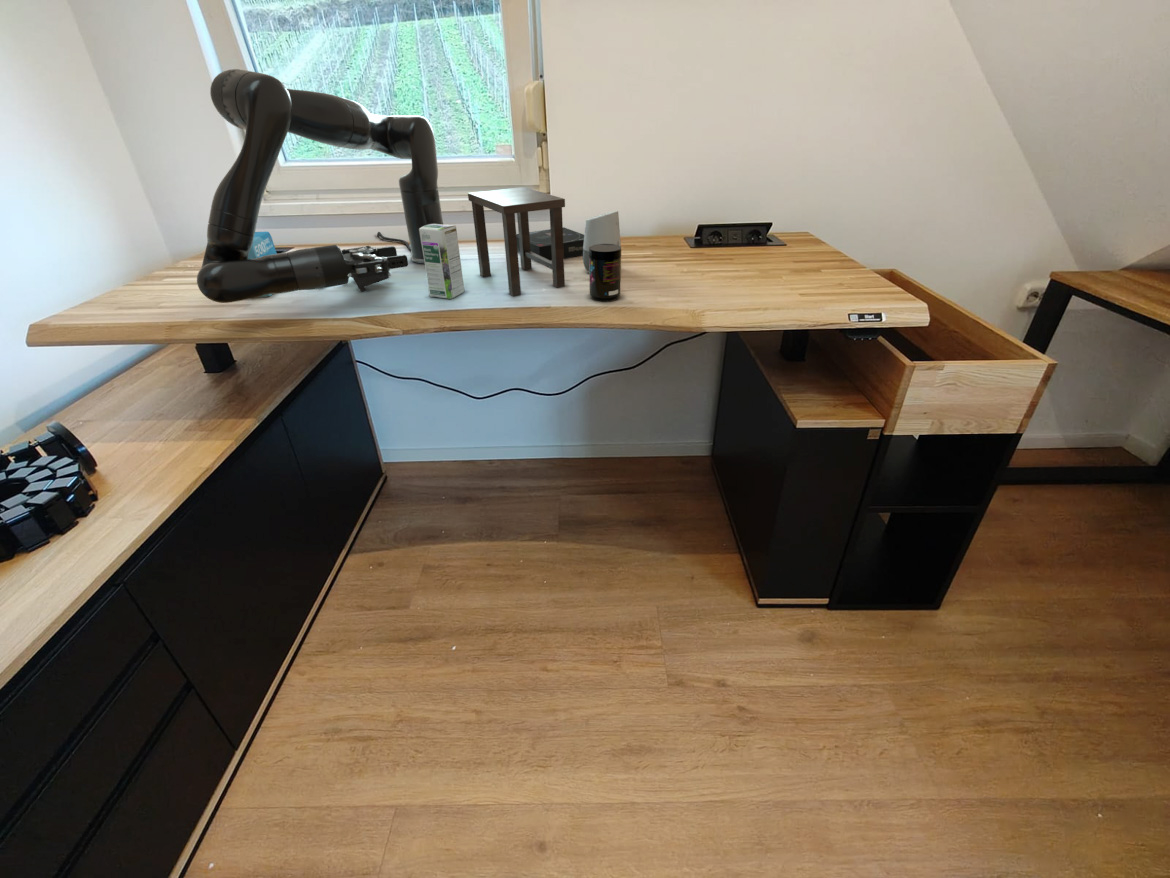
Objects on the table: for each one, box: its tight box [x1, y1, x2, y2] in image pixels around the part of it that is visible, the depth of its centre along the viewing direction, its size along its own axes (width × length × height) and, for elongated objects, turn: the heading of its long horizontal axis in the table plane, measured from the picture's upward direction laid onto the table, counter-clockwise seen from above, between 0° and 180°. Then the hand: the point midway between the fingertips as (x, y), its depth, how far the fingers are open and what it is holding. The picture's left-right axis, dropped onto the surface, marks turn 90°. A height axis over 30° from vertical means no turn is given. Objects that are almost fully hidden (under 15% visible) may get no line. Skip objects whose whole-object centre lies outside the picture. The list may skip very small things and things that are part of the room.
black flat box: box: [516, 226, 585, 261], centre depth 152 cm, size 16×17×4 cm
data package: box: [248, 231, 278, 298], centre depth 124 cm, size 12×4×12 cm, turn 8°
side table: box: [467, 186, 566, 297], centre depth 126 cm, size 20×14×19 cm
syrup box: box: [419, 224, 465, 300], centre depth 119 cm, size 6×6×14 cm
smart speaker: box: [582, 210, 622, 273], centre depth 133 cm, size 10×9×14 cm
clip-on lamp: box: [348, 264, 392, 293], centre depth 129 cm, size 12×6×18 cm
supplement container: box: [588, 244, 622, 302], centre depth 117 cm, size 7×7×10 cm
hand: (401, 255), depth 114 cm, fingers open, 8 cm apart
